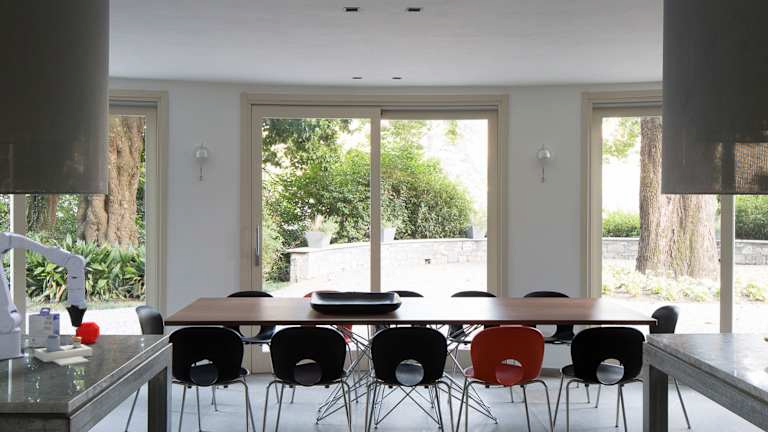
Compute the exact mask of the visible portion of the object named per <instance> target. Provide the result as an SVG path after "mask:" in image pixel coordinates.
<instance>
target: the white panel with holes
mask: <svg viewBox="0 0 768 432" xmlns="http://www.w3.org/2000/svg"><path fill="white" fill-rule="evenodd" d="M77 356H81V357H83V358H85V357H92V356H93V348H92V347H90V346H87V345H86V344H84V343H83V344H81V348H75V349H73V344H68V345H60V351H57V352H49V353H46V347H41V348H36V349H35V348H34V357H35V358H37V359H38V360H40V361H42V362H43V363H46V362H47V363H48V362H53V360H54V359H62V358H70V357H77Z"/></svg>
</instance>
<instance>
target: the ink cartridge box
mask: <svg viewBox="0 0 768 432" xmlns="http://www.w3.org/2000/svg"><path fill="white" fill-rule="evenodd" d="M45 310H46V311H45ZM60 316H61V315H60V313H56V312H55V313H51V307H41V308H40V310H39V313H33V314H29V315H28V343H27V345H28V348H46V338H47V337H48V335H58V337H60V338H61V334H60V333H61V332H60V330H61V328H60V323H61V322H60V321H61V319H60Z"/></svg>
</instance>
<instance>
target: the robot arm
mask: <svg viewBox="0 0 768 432" xmlns="http://www.w3.org/2000/svg"><path fill="white" fill-rule="evenodd" d="M15 248H16V249H17V248H23V249H26V250H29V251H32V252H34V253H36V254H40V255H43V256H44V257H45V259H46V261H47V262H50V263H52V264H55V265H57V266H60V267H62V268H65V269H66V270H67V301H66V305H67V306H68V305H69V306H68V307H67V306H66V307H65V310H67V313H68V315H69V319H70V323H71V326H72V327H74V328H75V329H77V328H78V327H81V325H82V323H83V321H84V320H83V319H84V316H85V313H86V312H87V309H88V307H87V304H86V303H89V300H88V299H86V295H85V294H86V282H85V281H86V280H85V279H86V276H85V267H86V265H87V260H86V258H85V257H84V256H83V255H81V254H80V253H79V254H78V253H77V254H75V252H74V251H69V250H66V249H63V247H62V246H60V245H52V246H50V247H49V246H47V245H45V244H42V243H40V242H38V241H36V240H34V239H32V238H30V237H27V236H25V235H22V234H19V233H15V232H12V231H3V232H2V231H0V360H8V359H15V358H22V357H23V358H24V357H25V354H23V353H22V347H21V346H22V343H21V342H22V339H21V338H22V337H21V335H22V334H21V333H22V331H21V330H22V329H21V328H20V326H21V325H22V323H23V316H22V314H21V312H19V310H18V307H17V306H16V304H15V303H14V301H13V298H12V295H11V291H10V287H9V283H8V280H7V275H6V273H5V268H4V265H3V262H2V260H3V258H4V257H5V256H6V254H7V253H8V252H9V251H11V250H12V249H15Z"/></svg>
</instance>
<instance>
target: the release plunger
mask: <svg viewBox="0 0 768 432" xmlns="http://www.w3.org/2000/svg"><path fill="white" fill-rule="evenodd" d="M81 340H82V337H76V336H73V337H71V341H72V345H73V349H75V348H81Z"/></svg>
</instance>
